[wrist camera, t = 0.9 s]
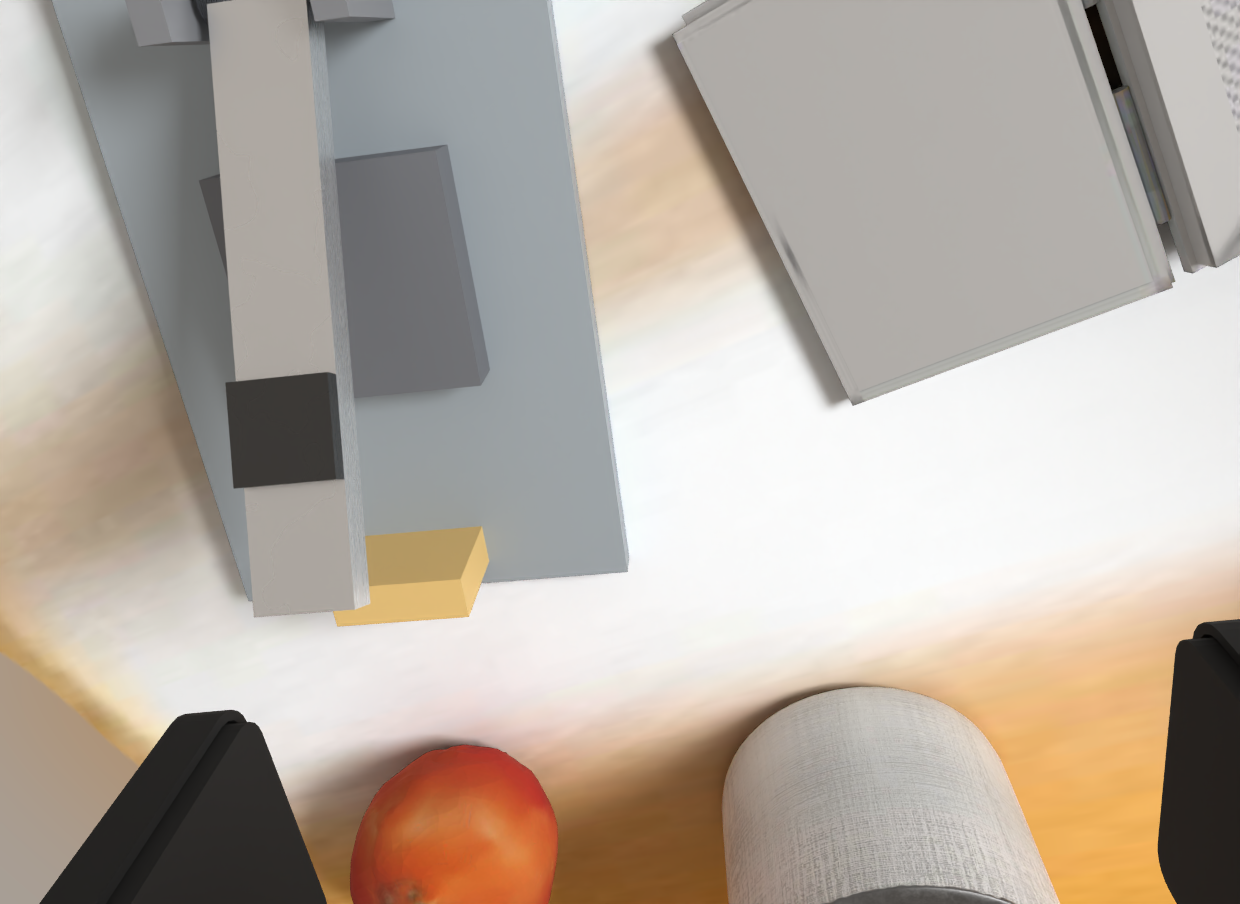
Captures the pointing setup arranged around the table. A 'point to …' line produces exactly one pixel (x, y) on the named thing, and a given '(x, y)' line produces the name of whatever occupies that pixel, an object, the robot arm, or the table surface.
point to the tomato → (457, 834)
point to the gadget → (973, 162)
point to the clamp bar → (287, 309)
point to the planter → (875, 808)
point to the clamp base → (515, 253)
